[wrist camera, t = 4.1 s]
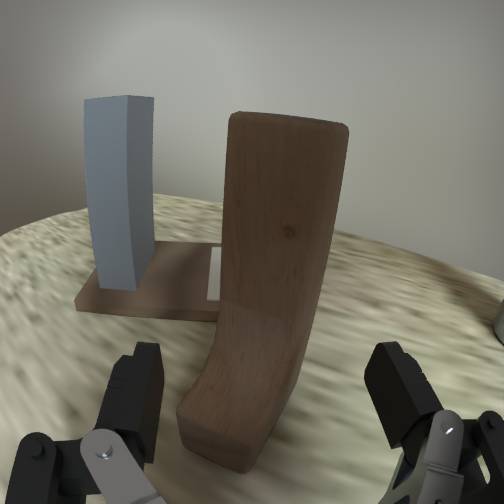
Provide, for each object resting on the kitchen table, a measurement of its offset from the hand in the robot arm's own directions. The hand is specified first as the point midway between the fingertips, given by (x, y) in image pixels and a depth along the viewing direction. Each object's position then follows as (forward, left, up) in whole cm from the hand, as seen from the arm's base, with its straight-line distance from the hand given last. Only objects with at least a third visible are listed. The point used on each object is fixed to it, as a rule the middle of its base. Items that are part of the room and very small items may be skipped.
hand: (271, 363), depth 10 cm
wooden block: (0, -4, -10) cm, 11 cm away
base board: (+5, -21, -10) cm, 24 cm away
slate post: (+12, -21, -9) cm, 26 cm away
